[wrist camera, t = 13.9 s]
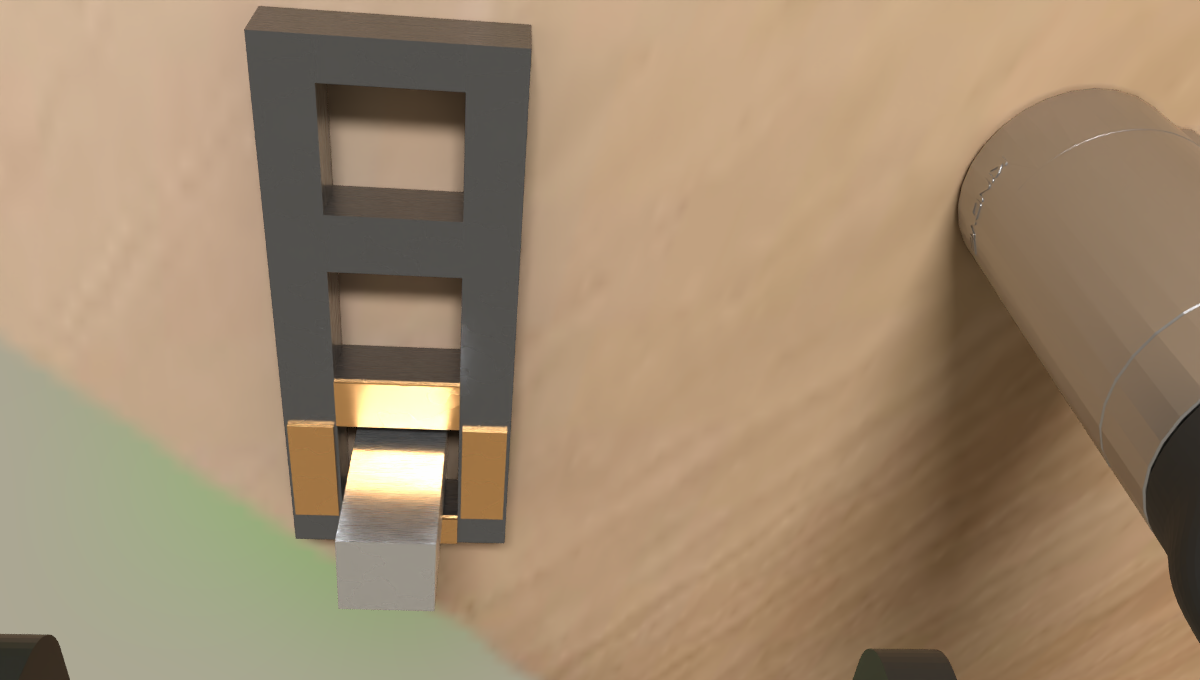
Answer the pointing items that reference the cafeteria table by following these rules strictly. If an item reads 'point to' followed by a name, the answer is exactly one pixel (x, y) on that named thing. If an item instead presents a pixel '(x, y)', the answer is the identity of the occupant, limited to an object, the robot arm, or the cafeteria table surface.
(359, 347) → the slotted rack
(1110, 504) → the cafeteria table surface
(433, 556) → the steel block
